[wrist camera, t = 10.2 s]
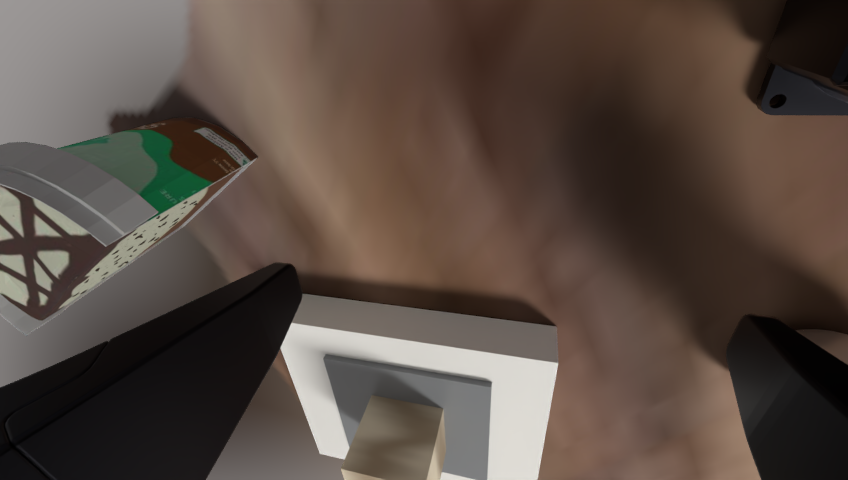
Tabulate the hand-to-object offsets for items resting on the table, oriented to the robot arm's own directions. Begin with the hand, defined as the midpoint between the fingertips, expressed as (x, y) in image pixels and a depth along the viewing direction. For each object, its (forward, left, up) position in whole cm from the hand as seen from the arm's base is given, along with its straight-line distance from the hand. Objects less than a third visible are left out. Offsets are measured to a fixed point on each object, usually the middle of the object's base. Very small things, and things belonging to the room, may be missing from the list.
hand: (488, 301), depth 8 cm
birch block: (+6, +20, -9) cm, 23 cm away
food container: (+20, +2, -12) cm, 24 cm away
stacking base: (+6, +20, -12) cm, 24 cm away
